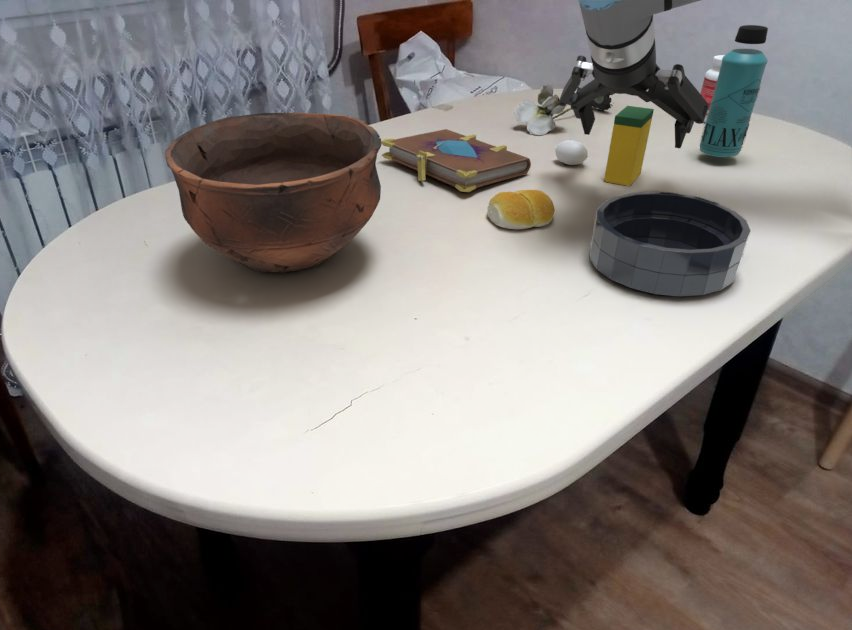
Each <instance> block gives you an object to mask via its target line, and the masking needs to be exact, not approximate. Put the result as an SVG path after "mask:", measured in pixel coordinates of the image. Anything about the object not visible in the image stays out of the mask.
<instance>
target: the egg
mask: <svg viewBox="0 0 852 630" xmlns="http://www.w3.org/2000/svg"><path fill="white" fill-rule="evenodd" d="M554 150H555V153H554V154H555V157H556V158H557V160H559V161H560V162H561V163H563V164H565V165H569V166H576V165H580V164H582V163H583V162H585V161H586V160H587V158H588V157H589V151H588V149H587V146H586V145H585V144H583V143H582V142H580V141H578V140H575V139H567V140H563V141H561V142H560V143H557V146H556V147H555V149H554Z"/></svg>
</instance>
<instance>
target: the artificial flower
mask: <svg viewBox="0 0 852 630" xmlns="http://www.w3.org/2000/svg"><path fill="white" fill-rule="evenodd" d="M613 95H616V93H614V92H609V93H607V94H606V95H604V96H603V97H601V96H599V97H597V98H596V99H594V100H592V101H591V103H592V107H593V109H598V110H601V111H608V110H609V109H612V107H613V104H615V103H614V102H613V104H611V103H612V97H611V96H613ZM559 99H560V97H559V95H558V94H554V88H553V84H549V83H548V84H546V85H545V84H544V85H541V87H540V90H539V92H538V94H537V103H538V105H537V104H536V102H534V101H532V100H528V99H526V100H525V99H524V100H523V101H522V102H521V103H520V104H517V105H516V106H515V108H514V112H513V113H514V116H515V119H516V122H518V123H520V124H527V125H526V130H527V131H528V132H529V135H531V136H533V135H534V136H545V135H546V134H548V132H551V131H553V130H555V127H556V122H555V121H554V119H557V118H558V117H560V116H563V115H565V114H566V113H568V112H570V111H571V110H573V109H571V107H570V108H567V109H565V108H566V107H568V105H566V106H560V105H559V104H558V102H559Z"/></svg>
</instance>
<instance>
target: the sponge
mask: <svg viewBox="0 0 852 630" xmlns="http://www.w3.org/2000/svg"><path fill="white" fill-rule="evenodd" d="M654 110H655V109H654V108H650V107H643V106H642V107H641V106H634V105H626V106H625V107H624V108H623V109H621V110H620V111H619V112H618V113H617V114H615V116H614V119H613V126H612V132H611V138H610V144H609V149H608V154H607V161H606V167H605V173H604V178H603V182H605V183H610V184H615V185H621V186H627V187H631V185H632V184H633V183H634V182H635V181H636V179H637V178H638V177H639V176H640V175H641V173H642V169H643V164H644V160H645V155H646V149H647V146H648V145H647V144H648V141H649V135H650V131H651V126H652V120H653V116H654Z"/></svg>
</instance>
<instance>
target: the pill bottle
mask: <svg viewBox="0 0 852 630" xmlns="http://www.w3.org/2000/svg"><path fill="white" fill-rule="evenodd" d="M725 55H726V54H719V55H715V56H713V59H712V62H711V66H712V68H709V69H708V70H707V71H706V72H705V75H704V78H703V81H702V86H701V90H700V94H701V95H702V97H703V98H704V99H705V100H706V101H707V103H708V104H709V105H710V104H711V102H712V98H713V95H714V91H715V87H716V83H717V79H718V75H719V71H720V67H721V64H722V58H723V57H724V56H725ZM709 109H710V106H709V108H708V111H707V112H709ZM707 116H708V115H707V114H706V117H707ZM706 117H705V119H704V122H703V123H704V124H706V120H707V118H706Z"/></svg>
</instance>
